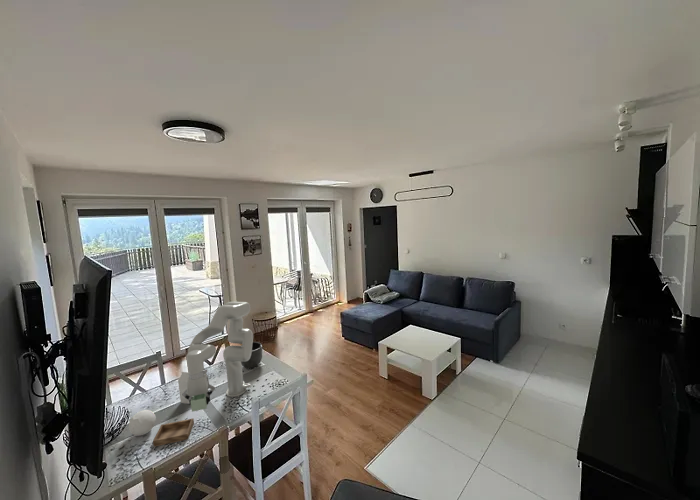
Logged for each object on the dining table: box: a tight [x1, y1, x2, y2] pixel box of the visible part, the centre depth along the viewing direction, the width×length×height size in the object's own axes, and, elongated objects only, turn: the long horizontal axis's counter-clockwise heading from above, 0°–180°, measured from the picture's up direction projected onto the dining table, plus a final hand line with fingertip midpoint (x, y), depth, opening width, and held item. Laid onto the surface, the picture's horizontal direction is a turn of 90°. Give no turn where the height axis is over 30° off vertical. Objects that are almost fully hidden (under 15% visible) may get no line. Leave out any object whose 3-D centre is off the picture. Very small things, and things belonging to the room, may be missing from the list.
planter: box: [240, 341, 263, 370], centre depth 220 cm, size 17×17×16 cm
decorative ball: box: [128, 409, 157, 437], centre depth 156 cm, size 12×12×12 cm
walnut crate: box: [152, 418, 195, 448], centre depth 154 cm, size 16×12×3 cm
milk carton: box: [177, 371, 190, 405], centre depth 182 cm, size 7×7×19 cm
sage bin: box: [190, 394, 209, 412], centre depth 155 cm, size 7×7×6 cm
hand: (200, 404), depth 155 cm, fingers closed on sage bin, 7 cm apart
